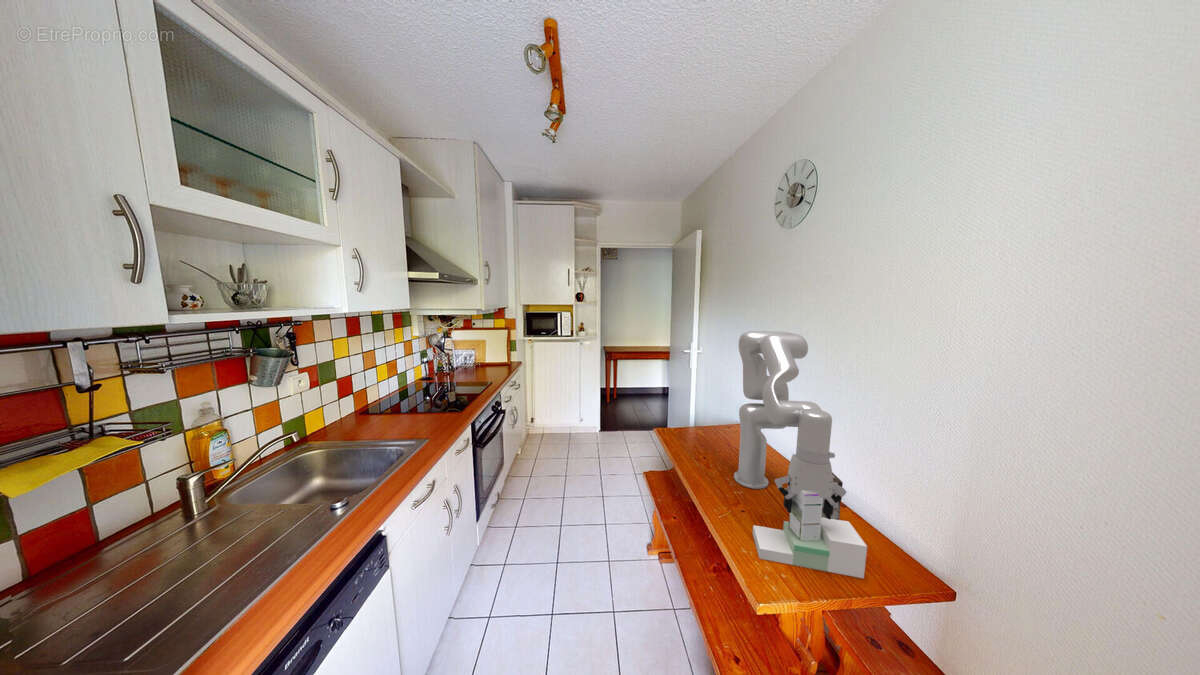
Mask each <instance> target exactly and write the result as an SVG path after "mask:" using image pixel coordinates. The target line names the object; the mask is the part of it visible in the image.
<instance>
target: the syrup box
mask: <svg viewBox="0 0 1200 675" xmlns="http://www.w3.org/2000/svg"><path fill="white" fill-rule="evenodd" d="M791 500H792V508H791V513H789V518H788V520H789V521H788V522H789V528H790V529H791V530H792V532H793V533H794V534H795V535H796V536H797V537H798V538H799V540H800V541H820V531H821V517H822V505H823V498H820V497H819V495H818V494H817V493H816V492H815V491H807V490H802V491H801V492H800V495H798V494H795V495H794V496H792V497H791Z"/></svg>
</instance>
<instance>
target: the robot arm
mask: <svg viewBox="0 0 1200 675" xmlns="http://www.w3.org/2000/svg"><path fill="white" fill-rule="evenodd" d="M738 351H739V355H740V359H741V362H742V390H743V391H742V392H743V394H744V397H745V398H747V399H749V400H752V401H753V400H756V401H762V403H758V402H756V403H755V402H750V403H749V402H748V403H745V404H743V405H741V406H740V408H739V410H738V416H739V417H738V418H739V427H740V433H739V434H740V436H739V437H740V438H739V454H738V455H739V456H738V470H737V471H735V472H734V473H733V479H734V481H735V482H736V483H738V484H739V485H741V486H743V487H744V488H745V487H746V488H749V489H754V490H762V489H766V488H767V487H769V479H768V477H766V476H765V473H766V461H767V460H766V459H767V447H768V446H767V443H768V441H767V438H766V436H765V434H764V433H763V432H762V429H763V430H764V429H765V430H766V429H769V430H780V429H786V427H787V428H797V436H796V437H797V438H796V446H795V447H796V449H795V453H794V454H792V455H791V458H790V462H789V466H788V470H787V475H785V476H782V477H781V476H780V477H779V478H775V479H774V483H775V485H776V487H777V489H778V491H779V493H781V494H782V496H783V507H784V509H785V510H786V511H787V514H790V513H791V508H792V500H791V497H792V496H794V495H795V494H798V495H800V492H801V491H802V490H807V491H815V492H816V493H817V494H818V495H819V497H820V498H826V499H825V500H824V508H823V513H824V514H825V516H826V518H828V519H831V515H833V506H835V505H836V503H837V502H839V501H840V500H841V501H842V499H843V498H844V497H845V495H846V494H847V490H846V489H845V488H844V487H843V486H842V487H841V486H839V485H837V484H836V483H834V482H833V476H832V472H833V469H832V464H831V461H830V459H835V457H836V455H835V453H834V452H831V451H830V447H831V437H832V428H833V417H832V415H831V414H830V413H829V412H827V411H824V410H822V408H821V407H820V406H819V405H818V404H816V402H813V401H806V400H805V401H803V400H801V401H800V400H790V398H789V397H790V395H789V387H788V383H789V382H792V381H793V380H795V379H796V378H797V377H799V373H800V370H799V366H798V365H797V363H796V359H799V360H801V359H803V358H805V357H806V356H807V354H808V352H809V345H808V342H807V340H806V338H804V336H802V335H801V334H798V333H793V332H786V331H766V330H764V331H763V330H753V331H752V330H751V331H746V332H743V333H742V334H741V335H740V337H739V339H738ZM767 371H768V372H767ZM768 373H769V374H768ZM784 484H787V485H788V486H787V487H786V488H784V487H783V485H784ZM833 489H835V490H837V493H835V494H833V495H832V491H833Z"/></svg>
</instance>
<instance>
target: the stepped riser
mask: <svg viewBox="0 0 1200 675" xmlns="http://www.w3.org/2000/svg"><path fill="white" fill-rule="evenodd" d="M752 536H753V541H754V544H755V547H756V551H757V556H758V559H760V560H765V561H769V562H774V563H776V562H777V563H781V564H785V565H786V564H787V565H791V566H796V567H801V568H807V569H812V570H817V571H822V572H828V573H833V574H838V575H843V576H849V577H854V578H859V579H865V571H866V570H865V569H866V560H867V552H868V545H867V544H866V542H865V541H864V540H863V539H862V537H861V536H860V535H859V533H858V532H857V531H856V529H855V528H854V526H853V525H852V524H851V523H850V521H848V520H841V519H839V520H836V519H828V518H823V517H821V531H820V541H800V540H799V538H798V537H797V536H796V535H795V534H794V533H793V532H792V530H791V529H790V528H789V521H786V520H783V526H782V529H779V528H778V529H777V528H772V527H768V526H760V525H754V524H753V526H752Z"/></svg>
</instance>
